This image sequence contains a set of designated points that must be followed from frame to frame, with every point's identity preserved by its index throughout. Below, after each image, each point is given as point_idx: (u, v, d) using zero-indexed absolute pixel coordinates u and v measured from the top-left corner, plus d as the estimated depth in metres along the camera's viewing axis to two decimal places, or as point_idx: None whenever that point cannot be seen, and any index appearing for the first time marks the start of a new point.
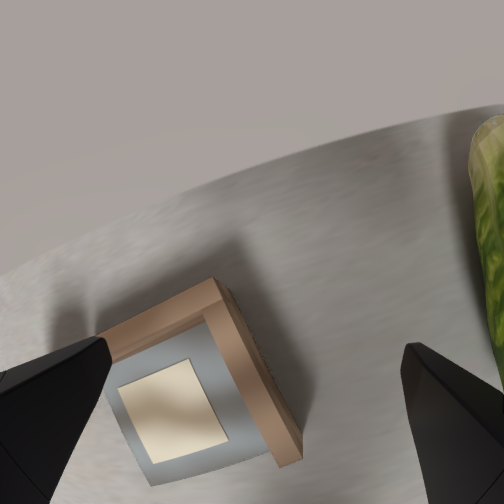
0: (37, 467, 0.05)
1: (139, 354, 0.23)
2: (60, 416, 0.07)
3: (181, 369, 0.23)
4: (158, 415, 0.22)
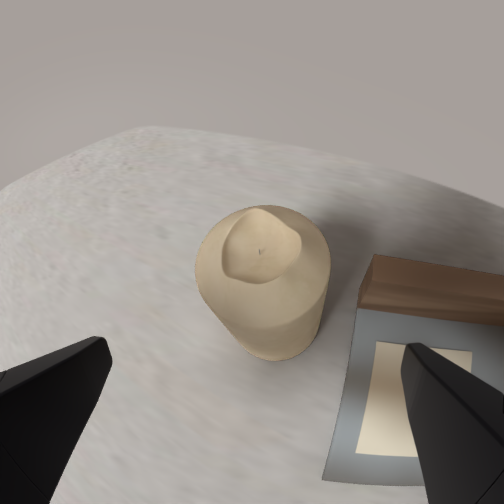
0: (37, 467, 0.05)
1: (425, 320, 0.18)
2: (60, 416, 0.07)
3: (460, 359, 0.17)
4: None
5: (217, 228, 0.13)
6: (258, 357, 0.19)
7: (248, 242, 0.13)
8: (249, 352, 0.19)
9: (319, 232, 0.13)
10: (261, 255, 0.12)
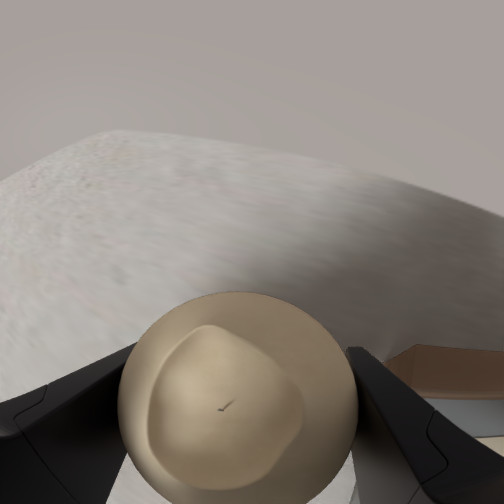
0: (84, 488, 0.05)
1: (464, 403, 0.12)
2: (110, 431, 0.06)
3: (499, 446, 0.10)
4: None
5: (147, 344, 0.07)
6: None
7: (200, 383, 0.06)
8: None
9: (340, 356, 0.06)
10: (225, 413, 0.06)
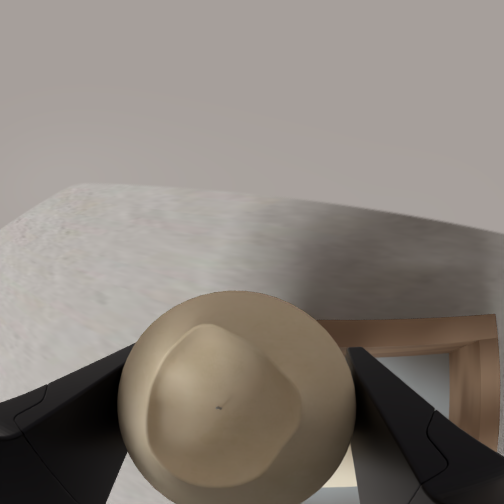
0: (84, 488, 0.05)
1: None
2: (110, 431, 0.06)
3: None
4: None
5: (146, 343, 0.07)
6: None
7: (198, 382, 0.06)
8: None
9: (338, 354, 0.06)
10: (223, 410, 0.06)
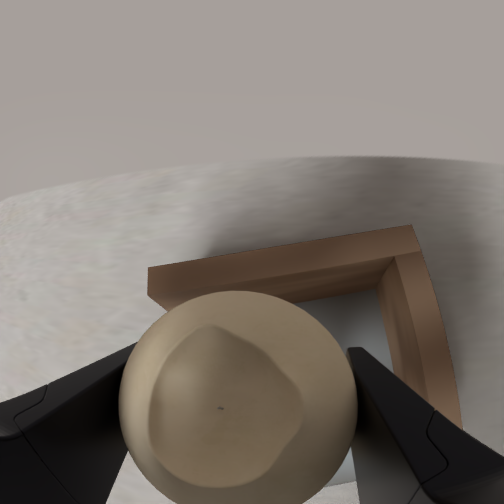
0: (84, 488, 0.05)
1: None
2: (110, 431, 0.06)
3: None
4: None
5: (147, 343, 0.07)
6: None
7: (200, 382, 0.06)
8: None
9: (340, 354, 0.06)
10: (225, 411, 0.06)
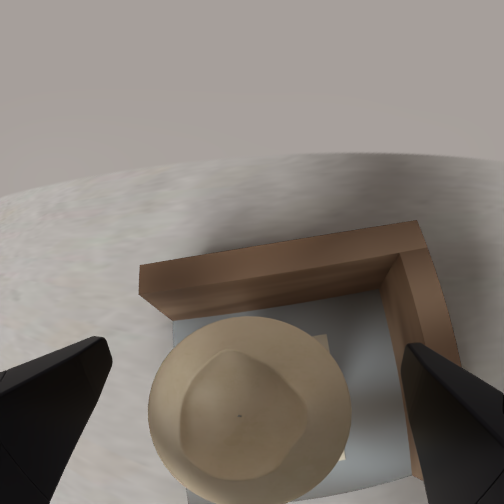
0: (36, 467, 0.05)
1: (252, 313, 0.18)
2: (60, 416, 0.07)
3: None
4: None
5: (175, 362, 0.08)
6: None
7: (222, 395, 0.07)
8: None
9: (337, 370, 0.08)
10: (243, 418, 0.07)
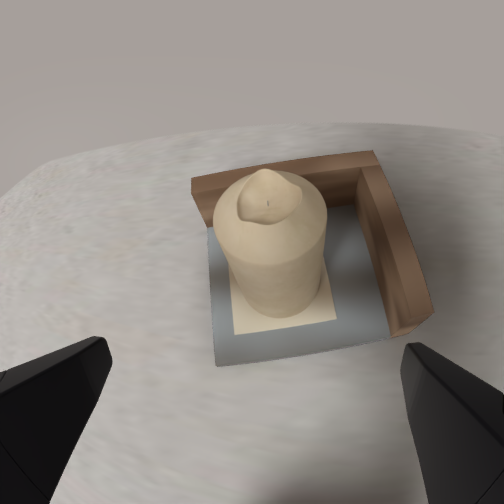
0: (36, 467, 0.05)
1: None
2: (60, 416, 0.07)
3: None
4: None
5: (232, 187, 0.16)
6: (264, 314, 0.21)
7: (258, 196, 0.15)
8: (256, 310, 0.21)
9: (317, 190, 0.15)
10: (269, 206, 0.15)
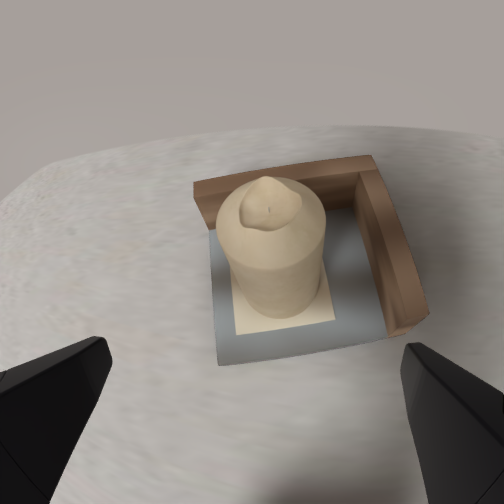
0: (36, 467, 0.05)
1: None
2: (60, 416, 0.07)
3: None
4: None
5: (234, 193, 0.16)
6: (265, 315, 0.22)
7: (259, 203, 0.16)
8: (257, 311, 0.22)
9: (316, 196, 0.16)
10: (270, 212, 0.15)
